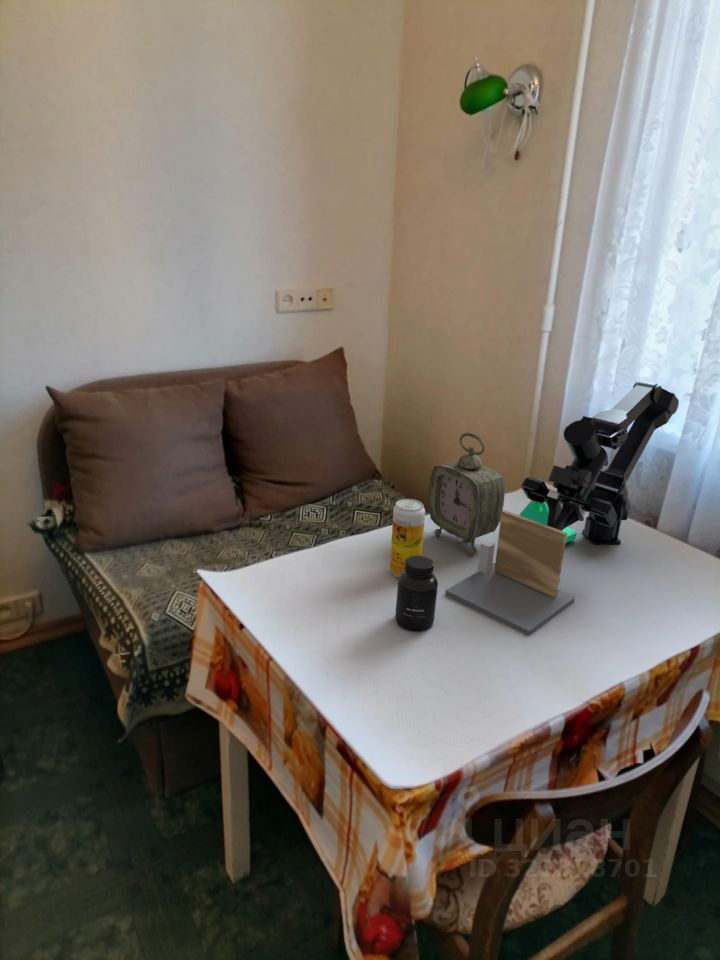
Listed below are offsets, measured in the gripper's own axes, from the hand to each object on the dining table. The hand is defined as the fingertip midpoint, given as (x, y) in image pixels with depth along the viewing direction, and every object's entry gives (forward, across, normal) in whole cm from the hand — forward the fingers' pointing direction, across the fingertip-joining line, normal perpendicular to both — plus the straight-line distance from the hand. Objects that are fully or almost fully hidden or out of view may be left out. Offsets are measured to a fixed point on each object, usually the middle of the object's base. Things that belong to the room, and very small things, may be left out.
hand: (547, 537), depth 130 cm
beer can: (+20, -20, -7) cm, 29 cm away
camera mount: (-6, -9, +19) cm, 22 cm away
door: (+10, 0, +1) cm, 10 cm away
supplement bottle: (+28, -7, -15) cm, 33 cm away
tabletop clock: (+6, -20, +7) cm, 22 cm away
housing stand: (+15, 0, -2) cm, 15 cm away
